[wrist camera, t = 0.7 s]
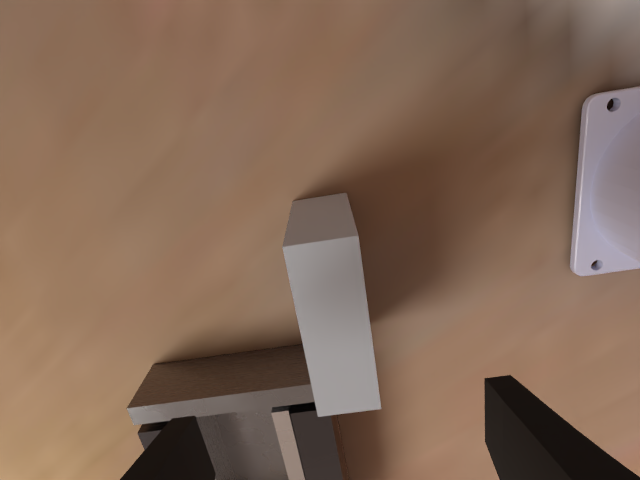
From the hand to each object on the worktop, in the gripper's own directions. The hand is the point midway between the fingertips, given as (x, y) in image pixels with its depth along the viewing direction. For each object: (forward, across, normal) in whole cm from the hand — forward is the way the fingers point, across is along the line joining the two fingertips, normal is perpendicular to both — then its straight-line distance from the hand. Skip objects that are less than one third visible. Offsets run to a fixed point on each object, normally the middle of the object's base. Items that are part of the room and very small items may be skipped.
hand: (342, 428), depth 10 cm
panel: (+10, 0, 0) cm, 10 cm away
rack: (+9, +6, +10) cm, 15 cm away
